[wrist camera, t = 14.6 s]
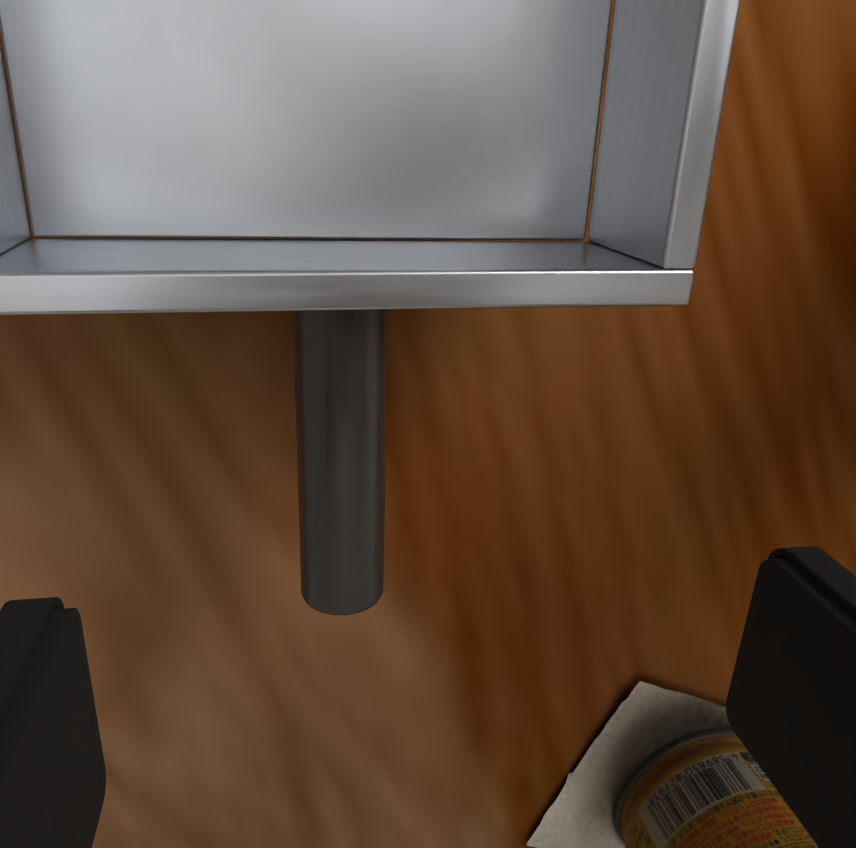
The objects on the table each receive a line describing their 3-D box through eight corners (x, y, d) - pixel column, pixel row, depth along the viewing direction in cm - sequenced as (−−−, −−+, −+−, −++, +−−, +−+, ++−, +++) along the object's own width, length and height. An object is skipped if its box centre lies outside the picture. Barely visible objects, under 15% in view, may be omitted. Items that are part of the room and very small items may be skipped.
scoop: (681, -421, 12) (850, -630, 8) (566, 518, 18) (637, 608, 15) (-141, -600, 9) (-356, -995, 6) (59, 560, 15) (9, 678, 12)
